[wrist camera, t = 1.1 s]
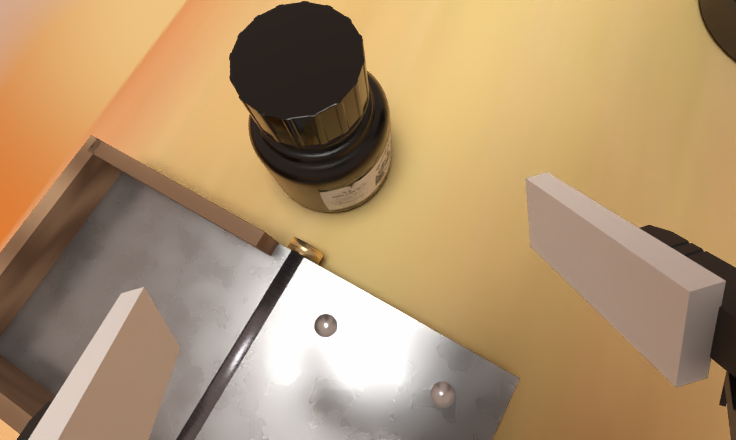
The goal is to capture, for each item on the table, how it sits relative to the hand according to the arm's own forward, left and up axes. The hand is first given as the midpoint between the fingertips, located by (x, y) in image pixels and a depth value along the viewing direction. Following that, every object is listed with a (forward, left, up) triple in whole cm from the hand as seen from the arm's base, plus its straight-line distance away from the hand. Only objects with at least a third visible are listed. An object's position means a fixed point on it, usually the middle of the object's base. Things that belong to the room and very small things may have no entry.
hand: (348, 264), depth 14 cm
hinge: (+9, -3, -15) cm, 18 cm away
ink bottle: (-5, -10, -15) cm, 19 cm away
